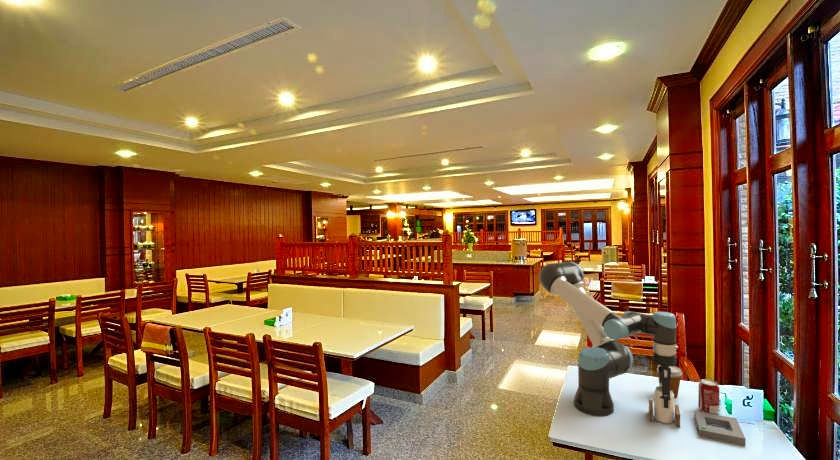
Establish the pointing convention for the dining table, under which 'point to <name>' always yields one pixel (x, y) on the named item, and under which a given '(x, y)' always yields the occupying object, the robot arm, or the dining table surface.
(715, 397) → the soda can
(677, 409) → the brown narrow blocks
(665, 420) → the can
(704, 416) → the port block
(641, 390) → the dining table surface
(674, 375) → the disposable coffee cup
